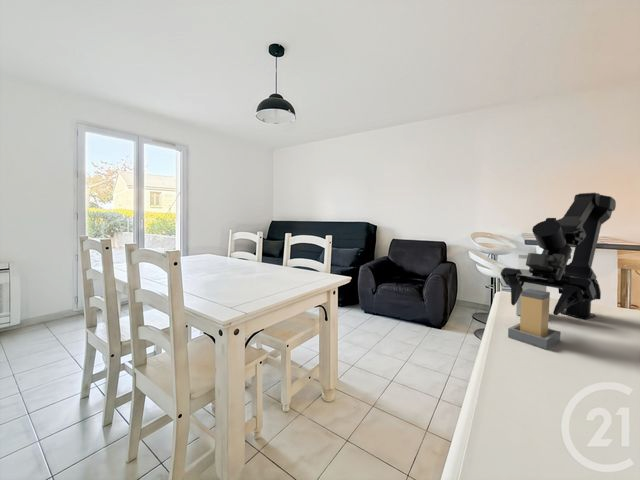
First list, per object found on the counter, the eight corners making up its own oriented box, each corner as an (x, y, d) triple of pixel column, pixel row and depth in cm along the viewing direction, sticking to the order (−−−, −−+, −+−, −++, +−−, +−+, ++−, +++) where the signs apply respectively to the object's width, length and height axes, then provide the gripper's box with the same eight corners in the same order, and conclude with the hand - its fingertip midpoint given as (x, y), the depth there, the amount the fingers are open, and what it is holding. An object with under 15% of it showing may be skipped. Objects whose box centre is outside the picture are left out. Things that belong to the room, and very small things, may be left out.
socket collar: (522, 329, 76) (523, 321, 76) (560, 340, 69) (560, 331, 69) (507, 337, 72) (508, 328, 72) (546, 349, 65) (546, 340, 65)
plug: (527, 332, 73) (529, 288, 72) (547, 338, 70) (549, 292, 69) (519, 336, 71) (521, 291, 70) (540, 343, 67) (542, 295, 66)
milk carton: (544, 320, 82) (547, 257, 81) (515, 315, 87) (518, 256, 85) (543, 313, 88) (546, 254, 86) (516, 309, 92) (518, 253, 91)
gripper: (504, 239, 78) (482, 283, 73) (594, 244, 62) (573, 300, 58) (517, 263, 83) (497, 306, 78) (603, 273, 67) (584, 328, 62)
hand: (532, 309), depth 69 cm, fingers open, 9 cm apart
